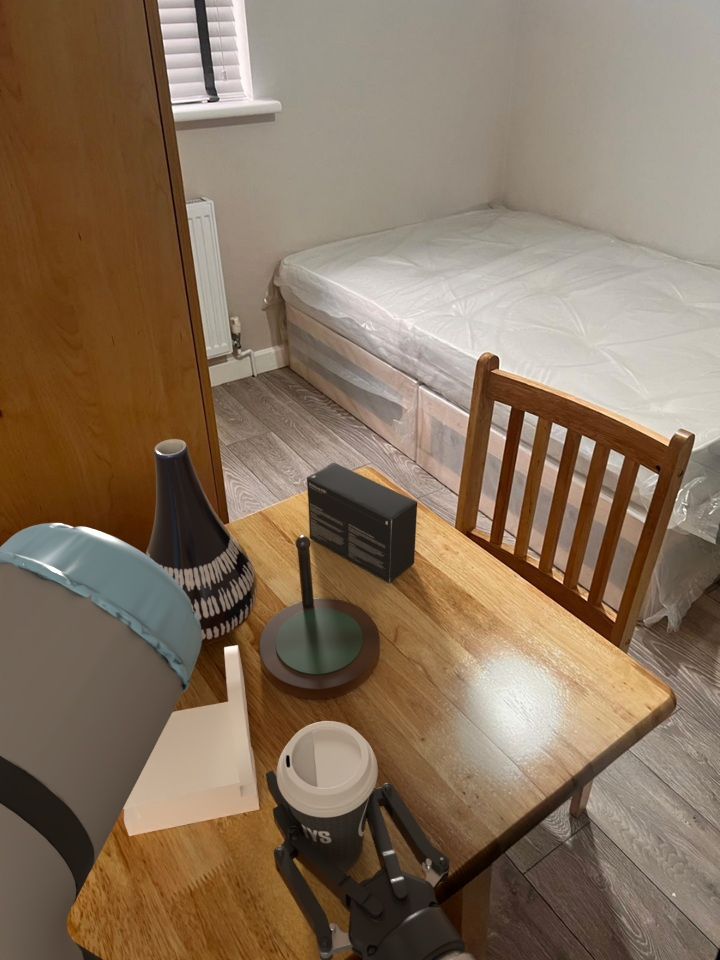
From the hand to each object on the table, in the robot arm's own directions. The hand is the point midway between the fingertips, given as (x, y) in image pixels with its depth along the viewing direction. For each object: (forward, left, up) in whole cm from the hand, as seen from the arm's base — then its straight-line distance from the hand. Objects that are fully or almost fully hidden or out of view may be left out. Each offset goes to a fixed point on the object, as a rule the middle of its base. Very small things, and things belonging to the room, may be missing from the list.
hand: (298, 764), depth 75 cm
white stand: (-12, -4, -8) cm, 15 cm away
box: (-15, +41, -8) cm, 44 cm away
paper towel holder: (-10, +20, -8) cm, 24 cm away
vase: (-27, +17, -8) cm, 33 cm away
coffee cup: (+5, -2, -8) cm, 10 cm away
